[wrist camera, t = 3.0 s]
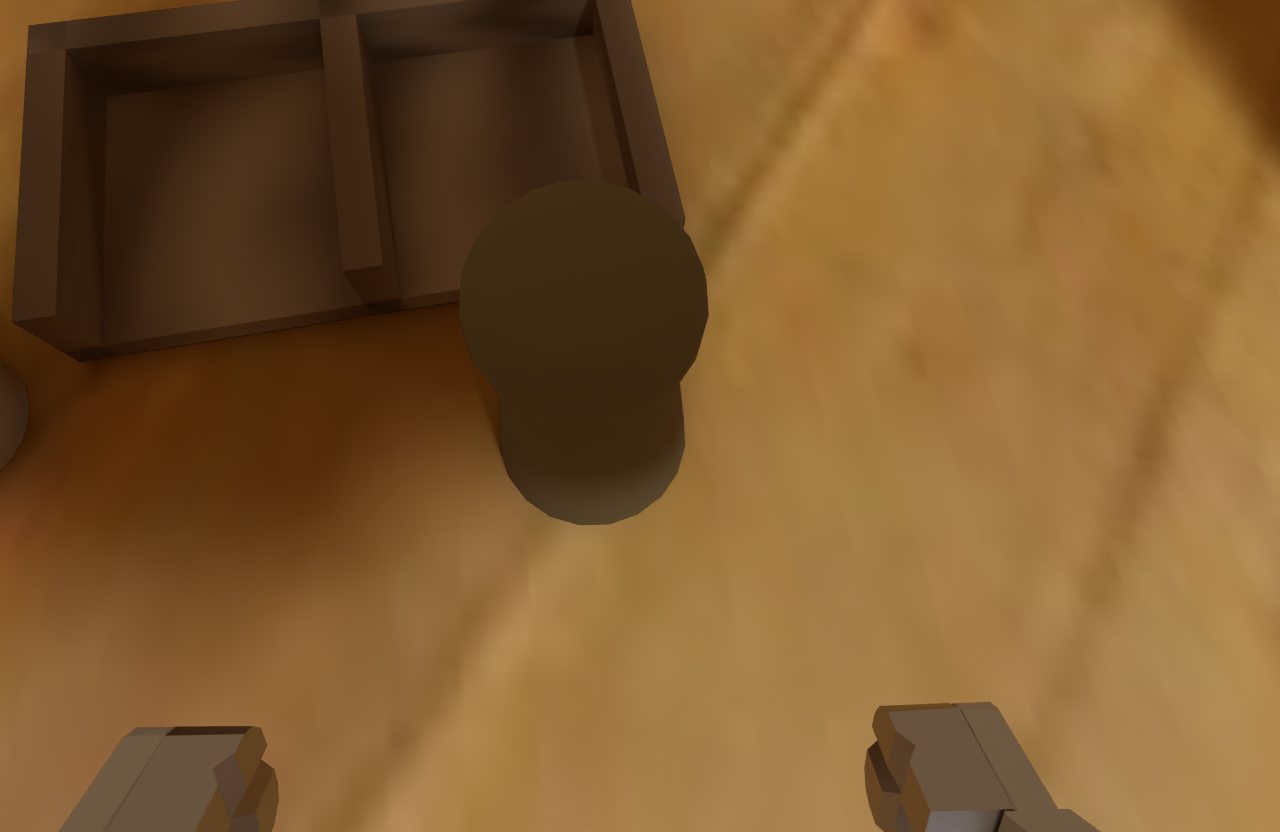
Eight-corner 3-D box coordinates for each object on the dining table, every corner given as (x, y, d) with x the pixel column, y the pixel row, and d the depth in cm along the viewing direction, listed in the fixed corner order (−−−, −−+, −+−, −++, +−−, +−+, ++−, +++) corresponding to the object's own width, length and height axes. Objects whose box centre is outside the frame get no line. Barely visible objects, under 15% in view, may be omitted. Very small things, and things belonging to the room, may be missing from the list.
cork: (517, 336, 26) (455, 112, 16) (694, 360, 26) (752, 150, 16) (483, 512, 24) (387, 390, 14) (675, 537, 24) (725, 434, 14)
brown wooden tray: (618, 23, 30) (619, -45, 28) (677, 266, 27) (685, 218, 24) (86, 90, 28) (28, 25, 26) (79, 361, 25) (11, 321, 22)
